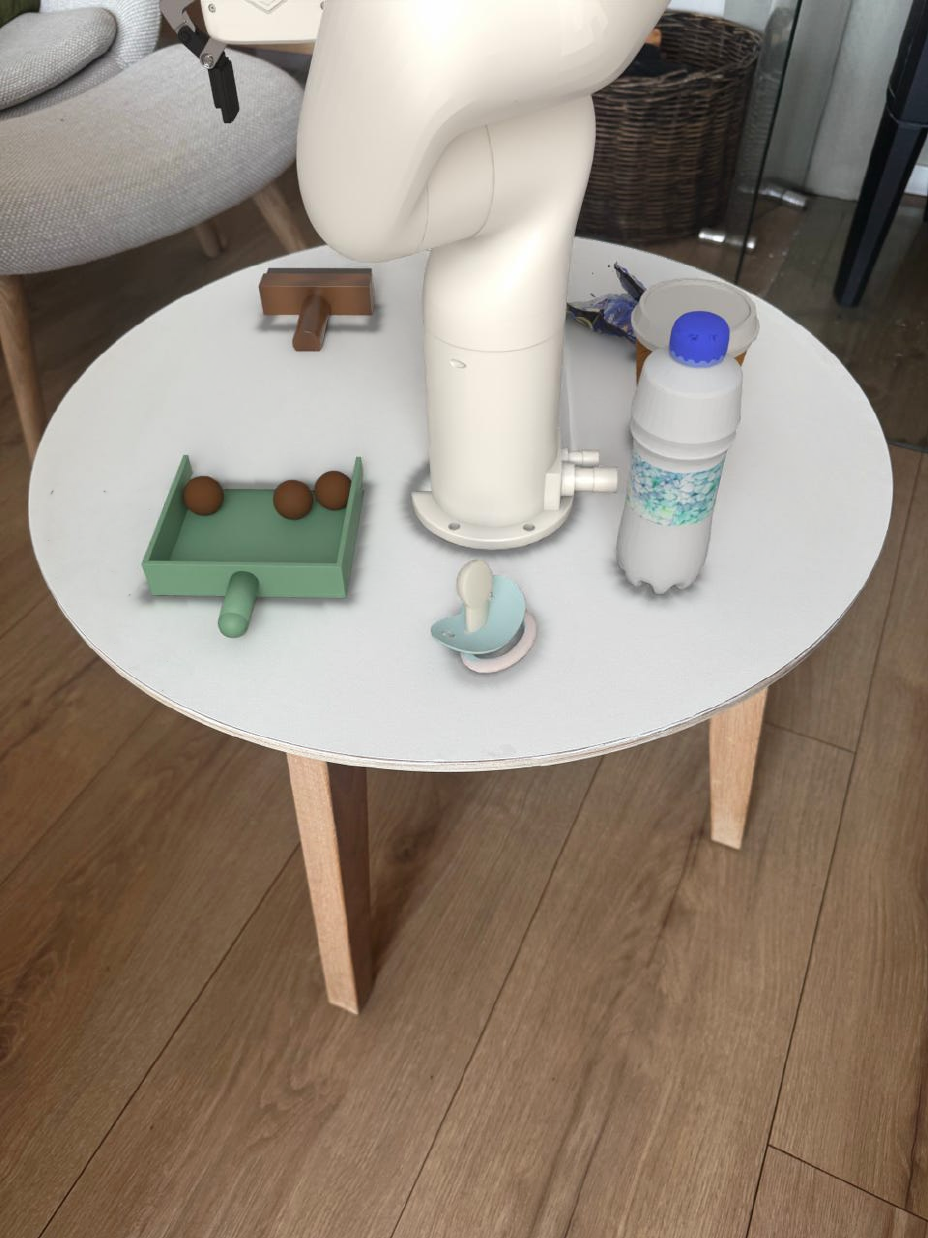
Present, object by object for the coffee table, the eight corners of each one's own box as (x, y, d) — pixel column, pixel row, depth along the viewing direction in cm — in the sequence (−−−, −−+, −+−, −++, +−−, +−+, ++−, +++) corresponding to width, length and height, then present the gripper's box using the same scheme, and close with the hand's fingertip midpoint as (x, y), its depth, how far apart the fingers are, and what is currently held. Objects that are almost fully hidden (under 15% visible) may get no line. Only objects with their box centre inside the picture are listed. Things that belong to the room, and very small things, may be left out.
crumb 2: (295, 473, 76) (321, 503, 77) (265, 498, 76) (291, 528, 76) (294, 469, 73) (321, 501, 74) (263, 495, 73) (290, 527, 73)
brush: (373, 265, 95) (361, 322, 87) (377, 308, 98) (365, 365, 91) (265, 265, 95) (244, 321, 88) (272, 307, 98) (253, 364, 91)
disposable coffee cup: (596, 448, 81) (609, 314, 73) (650, 393, 87) (668, 263, 78) (702, 489, 78) (730, 353, 69) (752, 429, 83) (783, 296, 74)
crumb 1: (222, 467, 75) (187, 478, 73) (236, 505, 75) (202, 517, 73) (204, 475, 77) (170, 485, 75) (218, 511, 78) (185, 523, 76)
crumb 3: (346, 522, 76) (308, 511, 76) (355, 492, 78) (317, 481, 77) (351, 499, 74) (312, 488, 73) (360, 469, 75) (321, 457, 75)
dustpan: (191, 486, 79) (183, 454, 76) (364, 488, 78) (361, 456, 76) (133, 649, 67) (120, 616, 64) (337, 652, 66) (331, 620, 64)
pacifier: (555, 628, 68) (484, 589, 70) (563, 561, 63) (486, 523, 65) (492, 695, 64) (419, 652, 66) (496, 629, 59) (417, 586, 61)
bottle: (701, 542, 73) (755, 290, 59) (708, 607, 69) (768, 350, 54) (610, 537, 74) (641, 286, 59) (610, 601, 69) (644, 345, 55)
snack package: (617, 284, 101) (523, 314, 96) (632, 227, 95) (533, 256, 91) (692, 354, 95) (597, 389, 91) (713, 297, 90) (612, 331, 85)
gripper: (113, -138, 65) (174, 135, 78) (373, -145, 65) (394, 131, 77) (143, -156, 71) (195, 102, 83) (384, -163, 70) (401, 99, 82)
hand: (291, 116), depth 80 cm, fingers open, 9 cm apart
